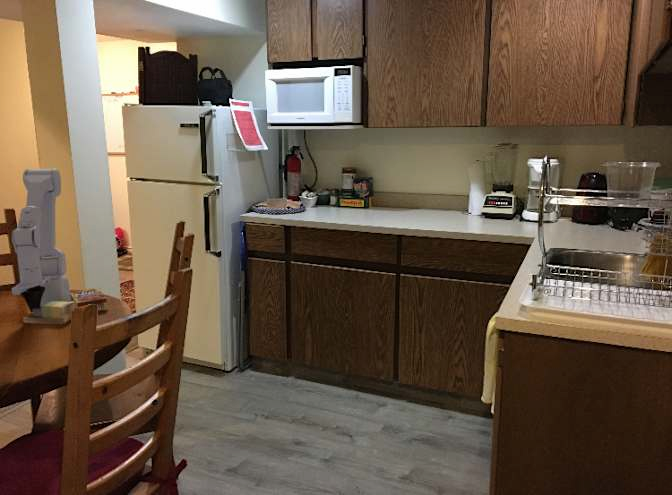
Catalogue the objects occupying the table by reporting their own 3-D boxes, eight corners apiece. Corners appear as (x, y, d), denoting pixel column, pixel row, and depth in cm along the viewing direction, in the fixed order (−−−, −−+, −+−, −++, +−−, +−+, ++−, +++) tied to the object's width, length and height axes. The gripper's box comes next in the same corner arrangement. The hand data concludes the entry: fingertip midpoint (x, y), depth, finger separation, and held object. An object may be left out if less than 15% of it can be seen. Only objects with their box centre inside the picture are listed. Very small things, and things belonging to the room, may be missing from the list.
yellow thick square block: (62, 317, 176) (60, 301, 175) (71, 317, 175) (70, 301, 174) (52, 322, 171) (50, 306, 170) (61, 323, 170) (59, 306, 169)
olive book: (53, 316, 176) (51, 301, 175) (62, 317, 176) (60, 301, 175) (43, 322, 171) (41, 306, 170) (52, 322, 171) (50, 306, 170)
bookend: (44, 316, 177) (43, 303, 176) (53, 316, 176) (52, 304, 175) (34, 321, 172) (32, 308, 171) (43, 322, 171) (41, 309, 171)
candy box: (76, 301, 177) (68, 291, 189) (77, 315, 177) (70, 304, 190) (106, 296, 181) (97, 287, 194) (108, 309, 182) (98, 299, 195)
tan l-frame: (38, 315, 178) (36, 300, 177) (76, 317, 176) (74, 301, 175) (23, 322, 171) (21, 306, 170) (62, 324, 169) (60, 307, 168)
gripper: (25, 273, 164) (30, 319, 166) (57, 262, 178) (61, 304, 180) (3, 273, 165) (8, 318, 167) (36, 261, 179) (41, 303, 181)
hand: (34, 311), depth 174 cm, fingers closed, pressing on bookend
